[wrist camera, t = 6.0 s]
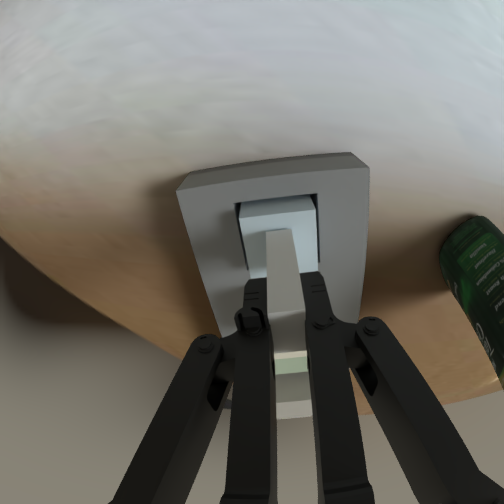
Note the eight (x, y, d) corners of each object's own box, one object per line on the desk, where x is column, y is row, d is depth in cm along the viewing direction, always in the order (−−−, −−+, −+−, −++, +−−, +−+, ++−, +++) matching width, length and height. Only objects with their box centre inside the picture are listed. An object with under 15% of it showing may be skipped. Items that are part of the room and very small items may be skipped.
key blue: (242, 193, 19) (238, 218, 16) (305, 185, 19) (315, 209, 16) (252, 246, 22) (250, 278, 18) (309, 239, 21) (317, 271, 18)
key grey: (272, 369, 27) (272, 403, 24) (314, 365, 27) (318, 398, 23) (275, 389, 30) (276, 419, 26) (313, 385, 29) (317, 415, 26)
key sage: (265, 314, 26) (265, 348, 23) (312, 309, 25) (317, 342, 22) (270, 343, 28) (270, 374, 25) (312, 338, 28) (316, 370, 24)
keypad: (190, 171, 20) (175, 190, 17) (350, 152, 19) (369, 167, 15) (247, 372, 34) (245, 398, 31) (339, 363, 33) (344, 389, 29)
